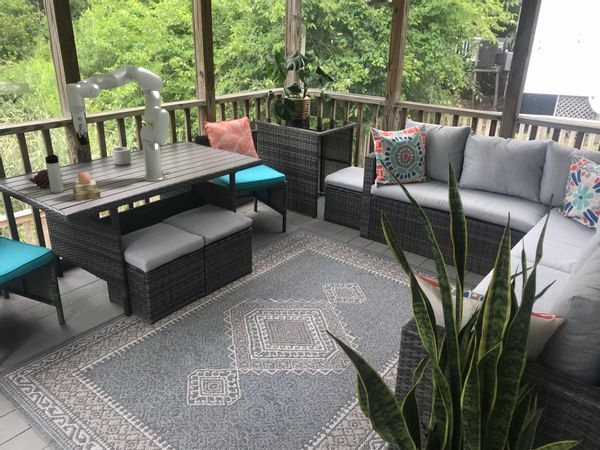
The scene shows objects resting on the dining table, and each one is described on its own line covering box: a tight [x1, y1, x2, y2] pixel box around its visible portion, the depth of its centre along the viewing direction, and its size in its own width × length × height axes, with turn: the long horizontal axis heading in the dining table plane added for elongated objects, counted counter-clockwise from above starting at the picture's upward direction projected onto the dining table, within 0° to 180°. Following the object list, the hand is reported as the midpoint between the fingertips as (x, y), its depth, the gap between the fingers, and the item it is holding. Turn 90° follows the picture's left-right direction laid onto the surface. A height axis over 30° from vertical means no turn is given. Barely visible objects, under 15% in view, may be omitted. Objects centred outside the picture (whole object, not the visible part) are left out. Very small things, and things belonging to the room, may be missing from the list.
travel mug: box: [44, 154, 65, 195], centre depth 260 cm, size 6×7×20 cm
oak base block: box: [72, 184, 102, 202], centre depth 257 cm, size 12×12×4 cm
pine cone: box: [28, 169, 63, 189], centre depth 269 cm, size 18×10×10 cm, turn 139°
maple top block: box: [74, 178, 98, 194], centre depth 256 cm, size 10×10×4 cm
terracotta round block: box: [77, 171, 91, 184], centre depth 254 cm, size 6×6×5 cm
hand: (82, 143), depth 249 cm, fingers open, 9 cm apart
